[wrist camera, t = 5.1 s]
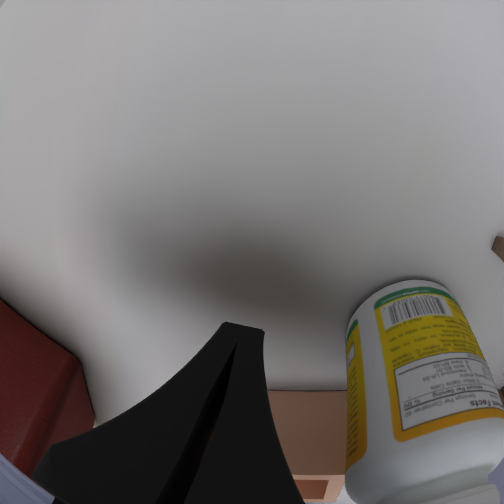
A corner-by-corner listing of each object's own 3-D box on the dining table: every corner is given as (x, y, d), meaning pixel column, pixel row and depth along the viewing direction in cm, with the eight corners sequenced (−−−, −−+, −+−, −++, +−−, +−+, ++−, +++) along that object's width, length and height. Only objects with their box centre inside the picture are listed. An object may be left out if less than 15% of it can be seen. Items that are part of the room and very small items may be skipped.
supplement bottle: (410, 249, 10) (503, 524, 1) (473, 316, 10) (537, 503, 2) (318, 335, 12) (291, 564, 4) (391, 380, 13) (400, 555, 4)
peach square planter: (348, 390, 14) (348, 474, 9) (339, 438, 16) (335, 501, 12) (239, 388, 15) (215, 465, 11) (253, 435, 18) (238, 495, 13)
